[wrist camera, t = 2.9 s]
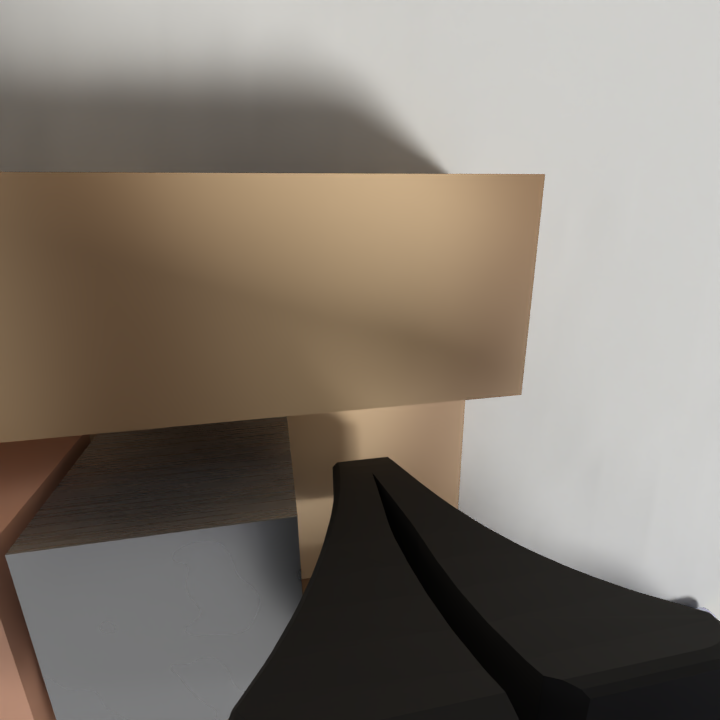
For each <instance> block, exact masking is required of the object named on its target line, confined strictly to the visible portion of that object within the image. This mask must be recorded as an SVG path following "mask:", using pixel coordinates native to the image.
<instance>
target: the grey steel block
mask: <svg viewBox="0 0 720 720" xmlns="http://www.w3.org/2000/svg"><path fill="white" fill-rule="evenodd" d="M5 557H6V560H7V563H8V567H9V570H10V573H11V576H12V579H13V583H14V586H15V589H16V592H17V596H18V599H19V602H20V605H21V608H22V612H23V615H24V618H25V621H26V624H27V628H28V631H29V634H30V637H31V640H32V644H33V647H34V650H35V653H36V657H37V660H38V663H39V666H40V669H41V673H42V676H43V679H44V682H45V685H46V689H47V692H48V695H49V698H50V701H51V705H52V708H53V711H54V714H55V718H56V720H228V719H229V717H230V714H231V711H232V709H233V708H234V706H235V705H236V704H237V702H238V701H239V699H240V698H241V696H242V695H243V693H244V692H245V691H246V689H247V688H248V686H249V685H250V683H251V682H252V681H253V679H254V678H255V676H256V675H257V673H258V672H259V670H260V669H261V668H262V666H263V665H264V663H265V662H266V660H267V658H268V657H269V655H270V654H271V652H272V650H273V649H274V647H275V645H276V644H277V642H278V640H279V638H280V637H281V635H282V633H283V631H284V630H285V628H286V626H287V624H288V623H289V621H290V619H291V618H292V616H293V614H294V612H295V610H296V608H297V606H298V604H299V602H300V600H301V598H302V580H301V564H300V549H299V533H298V517H297V507H296V498H295V488H294V479H293V469H292V460H291V450H290V441H289V431H288V421H287V416H285V417H274V418H263V419H252V420H241V421H231V422H220V423H209V424H198V425H187V426H176V427H165V428H154V429H144V430H133V431H122V432H111V433H100V434H97V435H96V436H95V437H94V439H93V440H92V441H91V443H90V444H89V445H88V447H87V448H86V449H85V451H84V452H83V453H82V454H81V456H80V457H79V458H78V460H77V461H76V462H75V464H74V465H73V466H72V468H71V469H70V470H69V472H68V473H67V474H66V475H65V477H64V478H63V479H62V481H61V482H60V483H59V485H58V486H57V487H56V489H55V490H54V491H53V493H52V494H51V495H50V497H49V498H48V499H47V500H46V502H45V503H44V504H43V506H42V507H41V508H40V510H39V511H38V512H37V514H36V515H35V516H34V518H33V519H32V520H31V521H30V523H29V524H28V525H27V527H26V528H25V529H24V531H23V532H22V533H21V535H20V536H19V537H18V539H17V540H16V541H15V542H14V544H13V545H12V546H11V548H10V549H9V550H8V552H7V553H6V554H5Z"/></svg>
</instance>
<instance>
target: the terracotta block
mask: <svg viewBox="0 0 720 720" xmlns="http://www.w3.org/2000/svg"><path fill="white" fill-rule="evenodd" d="M90 443H91V441H90V437H89V435H78V436H67V437H57V438H46V439H35V440H24V441H13V442H2V443H0V720H56V718H55V714H54V711H53V708H52V705H51V701H50V698H49V695H48V692H47V689H46V685H45V682H44V679H43V676H42V673H41V669H40V666H39V663H38V660H37V657H36V653H35V650H34V647H33V644H32V640H31V637H30V634H29V631H28V628H27V624H26V621H25V618H24V615H23V612H22V608H21V605H20V602H19V599H18V596H17V592H16V589H15V586H14V583H13V579H12V576H11V573H10V570H9V567H8V563H7V560H6V557H5V554H6V553H7V552H8V550H9V549H10V548H11V546H12V545H13V544H14V542H15V541H16V540H17V539H18V537H19V536H20V535H21V533H22V532H23V531H24V529H25V528H26V527H27V525H28V524H29V523H30V521H31V520H32V519H33V518H34V516H35V515H36V514H37V512H38V511H39V510H40V508H41V507H42V506H43V504H44V503H45V502H46V500H47V499H48V498H49V497H50V495H51V494H52V493H53V491H54V490H55V489H56V487H57V486H58V485H59V483H60V482H61V481H62V479H63V478H64V477H65V475H66V474H67V473H68V472H69V470H70V469H71V468H72V466H73V465H74V464H75V462H76V461H77V460H78V458H79V457H80V456H81V454H82V453H83V452H84V451H85V449H86V448H87V447H88V445H89V444H90Z"/></svg>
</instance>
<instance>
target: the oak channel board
mask: <svg viewBox="0 0 720 720" xmlns="http://www.w3.org/2000/svg"><path fill="white" fill-rule="evenodd" d="M544 179H545V174H359V173H127V172H0V443H2V442H13V441H24V440H35V439H46V438H57V437H67V436H78V435H89V437H90V441H92V440H93V439H94V437H95V436H96V435H97V434H100V433H111V432H122V431H133V430H144V429H154V428H165V427H176V426H187V425H198V424H209V423H220V422H231V421H241V420H252V419H263V418H274V417H285V416H287V421H288V431H289V441H290V450H291V460H292V469H293V479H294V488H295V498H296V507H297V517H298V533H299V549H300V564H301V580H302V596H303V593H304V591H305V589H306V587H307V585H308V582H309V580H310V578H311V576H312V573H313V571H314V568H315V566H316V563H317V560H318V558H319V555H320V552H321V549H322V546H323V543H324V539H325V536H326V532H327V528H328V525H329V521H330V517H331V512H332V506H333V501H334V500H333V468H332V467H333V466H334V465H335V464H336V463H337V462H344V461H353V460H362V459H371V458H380V457H389V458H390V459H391V460H393V461H394V462H395V463H397V464H398V465H399V466H400V467H402V468H403V469H404V470H405V471H406V472H408V473H409V474H410V475H412V476H413V477H414V478H415V479H417V480H418V481H419V482H420V483H422V484H423V485H424V486H426V487H427V488H428V489H430V490H431V491H432V492H434V493H435V494H436V495H438V496H439V497H440V498H442V499H443V500H445V501H446V502H448V503H449V504H450V505H452V506H453V507H455V508H456V509H458V499H459V484H460V469H461V454H462V439H463V424H464V409H465V400H470V399H481V398H491V397H502V396H513V395H521V392H522V383H523V373H524V364H525V355H526V346H527V336H528V327H529V318H530V308H531V299H532V290H533V281H534V271H535V262H536V253H537V244H538V234H539V225H540V216H541V206H542V197H543V188H544Z"/></svg>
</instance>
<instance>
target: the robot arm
mask: <svg viewBox="0 0 720 720" xmlns="http://www.w3.org/2000/svg"><path fill="white" fill-rule="evenodd" d="M332 468H333V500H334V501H333V506H332V512H331V517H330V521H329V525H328V528H327V532H326V536H325V539H324V543H323V546H322V549H321V552H320V555H319V558H318V560H317V563H316V566H315V568H314V571H313V573H312V576H311V578H310V580H309V582H308V585H307V587H306V589H305V591H304V593H303V596H302V598H301V600H300V602H299V604H298V606H297V608H296V610H295V612H294V614H293V616H292V618H291V619H290V621H289V623H288V624H287V626H286V628H285V630H284V631H283V633H282V635H281V637H280V638H279V640H278V642H277V644H276V645H275V647H274V649H273V650H272V652H271V654H270V655H269V657H268V658H267V660H266V662H265V663H264V665H263V666H262V668H261V669H260V670H259V672H258V673H257V675H256V676H255V678H254V679H253V681H252V682H251V683H250V685H249V686H248V688H247V689H246V691H245V692H244V693H243V695H242V696H241V698H240V699H239V701H238V702H237V704H236V705H235V706H234V708H233V709H232V711H231V714H230V717H229V719H228V720H720V621H719V620H717V619H716V617H715V615H714V614H712V613H711V612H710V611H709V610H708V609H706V608H692V607H688V606H685V605H681V604H678V603H674V602H671V601H667V600H663V599H660V598H656V597H653V596H649V595H646V594H642V593H639V592H636V591H633V590H629V589H627V588H624V587H621V586H618V585H615V584H612V583H609V582H606V581H604V580H601V579H598V578H595V577H592V576H590V575H587V574H585V573H582V572H579V571H577V570H574V569H572V568H569V567H567V566H564V565H562V564H560V563H557V562H555V561H553V560H551V559H548V558H546V557H544V556H541V555H539V554H537V553H535V552H533V551H531V550H528V549H526V548H524V547H522V546H520V545H518V544H516V543H514V542H512V541H511V540H509V539H507V538H505V537H503V536H501V535H499V534H498V533H496V532H494V531H492V530H490V529H488V528H487V527H485V526H483V525H482V524H480V523H478V522H477V521H475V520H473V519H472V518H470V517H469V516H467V515H466V514H464V513H463V512H461V511H459V510H458V509H456V508H455V507H453V506H452V505H450V504H449V503H448V502H446V501H445V500H443V499H442V498H440V497H439V496H438V495H436V494H435V493H434V492H432V491H431V490H430V489H428V488H427V487H426V486H424V485H423V484H422V483H420V482H419V481H418V480H417V479H415V478H414V477H413V476H412V475H410V474H409V473H408V472H406V471H405V470H404V469H403V468H402V467H400V466H399V465H398V464H397V463H395V462H394V461H393V460H391V459H390V458H389V457H380V458H371V459H362V460H353V461H344V462H337V463H336V464H335V465H334V466H333V467H332Z"/></svg>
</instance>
